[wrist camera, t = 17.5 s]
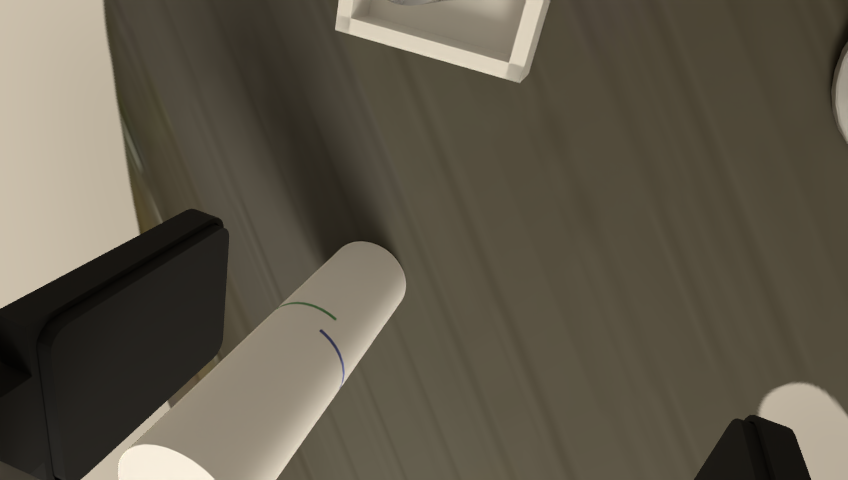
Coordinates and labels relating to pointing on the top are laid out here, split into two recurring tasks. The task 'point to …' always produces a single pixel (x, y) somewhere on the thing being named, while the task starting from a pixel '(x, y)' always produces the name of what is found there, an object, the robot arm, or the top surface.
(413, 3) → the metal canister
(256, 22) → the top surface
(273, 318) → the cylindrical container
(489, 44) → the caddy
